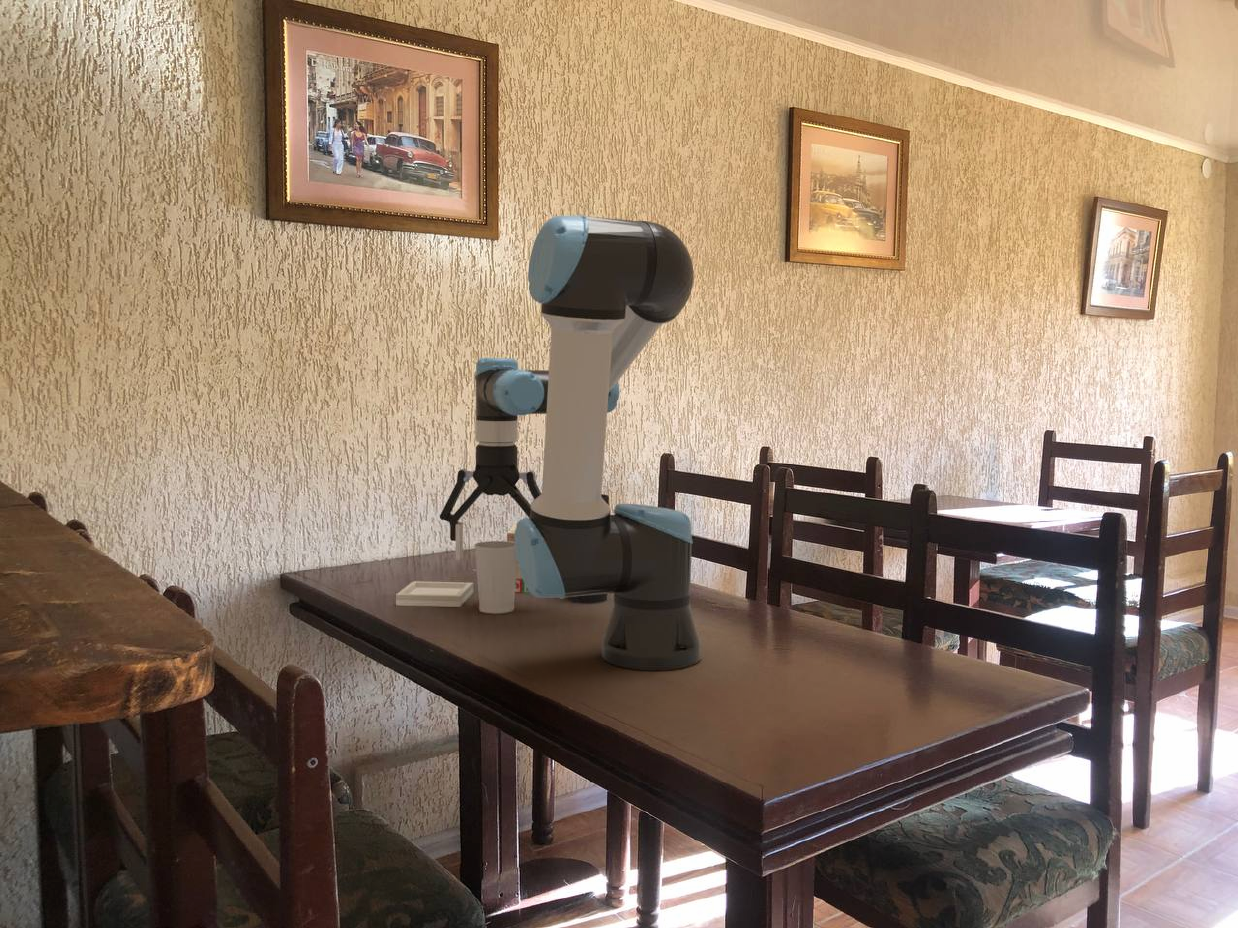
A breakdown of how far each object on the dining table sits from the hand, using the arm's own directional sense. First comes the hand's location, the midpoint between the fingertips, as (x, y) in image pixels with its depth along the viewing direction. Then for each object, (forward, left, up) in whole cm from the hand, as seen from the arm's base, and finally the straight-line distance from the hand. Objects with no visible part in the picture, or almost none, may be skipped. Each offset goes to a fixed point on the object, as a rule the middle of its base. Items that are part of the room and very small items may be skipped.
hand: (496, 559), depth 180 cm
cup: (0, 0, -9) cm, 9 cm away
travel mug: (+10, -16, -9) cm, 21 cm away
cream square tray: (+7, +13, -9) cm, 17 cm away
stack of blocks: (+24, -2, -10) cm, 26 cm away
